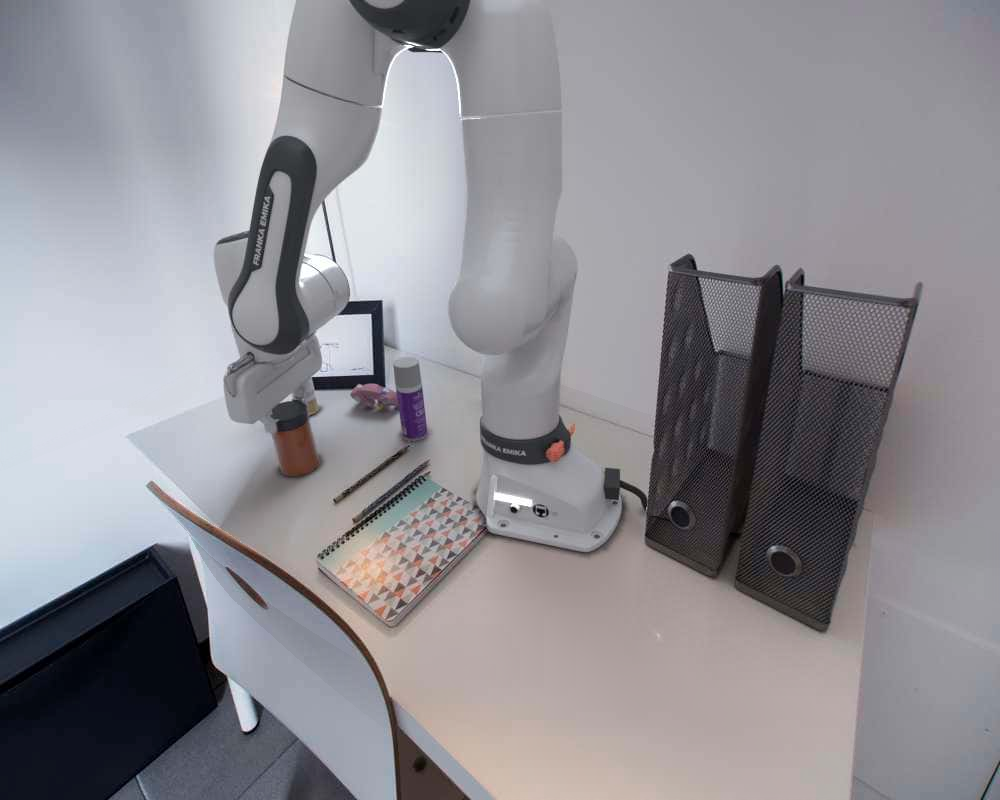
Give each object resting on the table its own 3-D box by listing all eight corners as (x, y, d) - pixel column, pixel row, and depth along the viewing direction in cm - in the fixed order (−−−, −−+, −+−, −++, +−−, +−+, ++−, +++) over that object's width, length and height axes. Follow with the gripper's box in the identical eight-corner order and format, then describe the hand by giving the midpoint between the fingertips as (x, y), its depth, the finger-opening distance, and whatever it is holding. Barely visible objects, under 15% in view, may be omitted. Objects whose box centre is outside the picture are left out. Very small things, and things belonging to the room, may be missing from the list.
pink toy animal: (356, 412, 110) (343, 392, 105) (365, 394, 113) (352, 374, 107) (399, 418, 108) (388, 398, 102) (407, 400, 110) (396, 380, 105)
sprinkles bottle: (314, 403, 111) (300, 344, 104) (322, 412, 108) (309, 351, 101) (292, 411, 108) (277, 351, 102) (300, 420, 105) (285, 358, 99)
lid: (317, 415, 88) (315, 406, 88) (287, 434, 84) (284, 424, 83) (290, 407, 91) (287, 397, 90) (259, 425, 86) (256, 415, 85)
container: (422, 442, 97) (414, 368, 90) (398, 439, 98) (388, 367, 91) (430, 428, 101) (422, 357, 94) (407, 426, 102) (397, 355, 95)
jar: (327, 460, 93) (315, 408, 88) (299, 480, 88) (284, 426, 83) (301, 451, 96) (288, 400, 91) (273, 470, 91) (257, 417, 86)
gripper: (241, 372, 71) (266, 456, 78) (321, 318, 88) (335, 391, 95) (201, 368, 72) (229, 451, 79) (287, 316, 90) (304, 388, 96)
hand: (288, 418), depth 87 cm, fingers closed on lid, 6 cm apart
